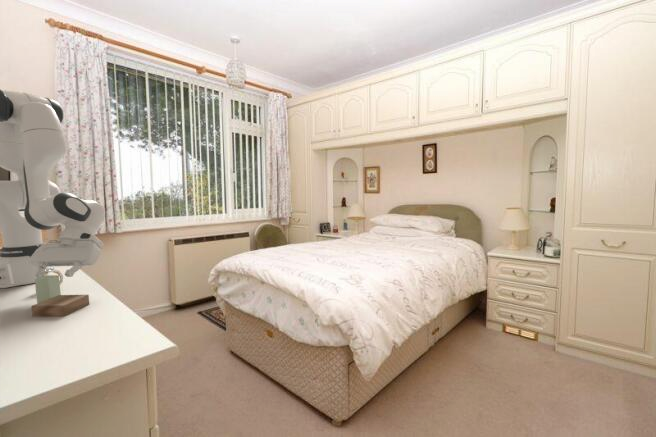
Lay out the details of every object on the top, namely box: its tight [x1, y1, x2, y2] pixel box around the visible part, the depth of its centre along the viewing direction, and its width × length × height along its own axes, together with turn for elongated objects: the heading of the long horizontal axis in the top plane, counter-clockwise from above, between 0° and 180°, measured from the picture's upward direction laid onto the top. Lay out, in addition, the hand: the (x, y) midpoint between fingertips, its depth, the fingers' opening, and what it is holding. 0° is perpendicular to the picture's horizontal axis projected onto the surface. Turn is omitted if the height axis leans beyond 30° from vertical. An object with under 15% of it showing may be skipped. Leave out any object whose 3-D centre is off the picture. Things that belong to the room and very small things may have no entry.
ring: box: [44, 267, 64, 286], centre depth 111 cm, size 7×3×8 cm, turn 140°
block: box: [34, 274, 62, 304], centre depth 99 cm, size 4×4×8 cm
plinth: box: [31, 294, 90, 317], centre depth 92 cm, size 9×9×3 cm
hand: (53, 276), depth 100 cm, fingers open, 8 cm apart
